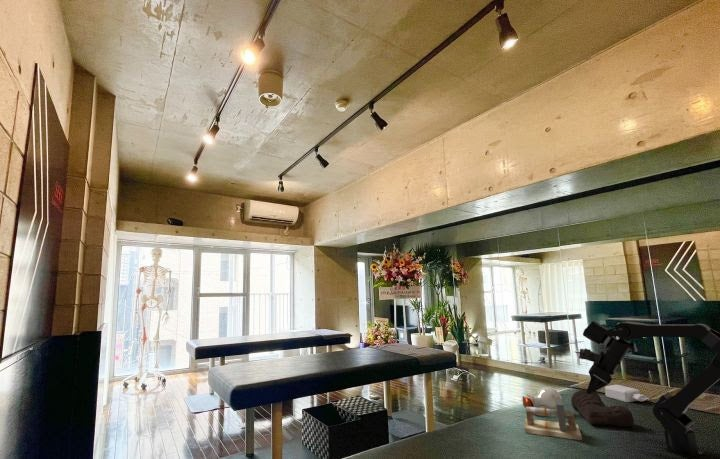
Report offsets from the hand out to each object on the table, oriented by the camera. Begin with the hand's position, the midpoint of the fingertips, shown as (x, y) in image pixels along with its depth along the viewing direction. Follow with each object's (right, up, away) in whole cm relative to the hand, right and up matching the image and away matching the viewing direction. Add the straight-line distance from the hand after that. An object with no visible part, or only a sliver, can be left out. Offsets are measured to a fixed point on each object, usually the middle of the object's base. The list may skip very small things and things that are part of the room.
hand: (589, 390), depth 120 cm
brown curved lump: (+10, -15, +8) cm, 20 cm away
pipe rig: (-13, -14, 0) cm, 19 cm away
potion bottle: (-5, -18, +19) cm, 27 cm away
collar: (-10, -12, -1) cm, 16 cm away
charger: (+38, -19, +30) cm, 52 cm away
